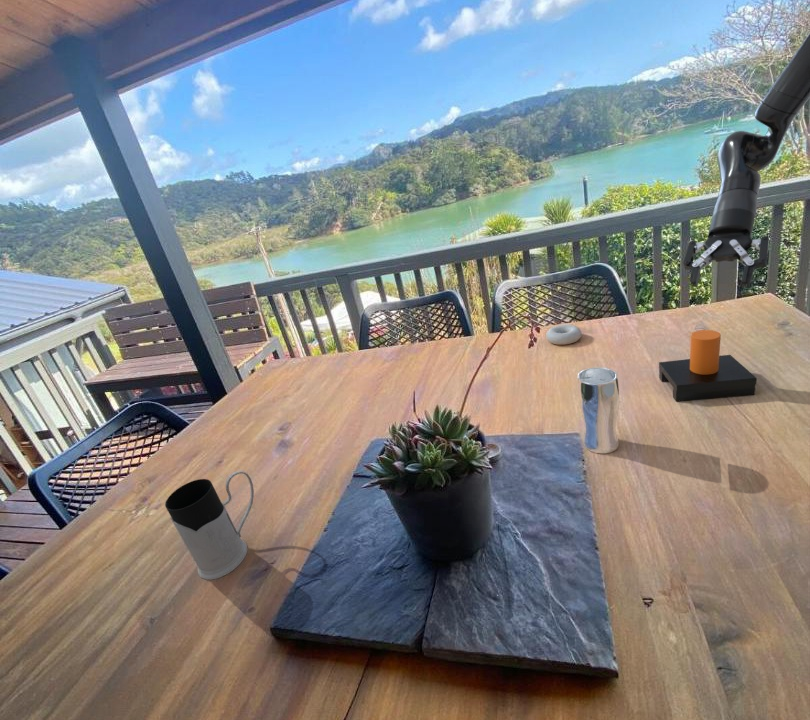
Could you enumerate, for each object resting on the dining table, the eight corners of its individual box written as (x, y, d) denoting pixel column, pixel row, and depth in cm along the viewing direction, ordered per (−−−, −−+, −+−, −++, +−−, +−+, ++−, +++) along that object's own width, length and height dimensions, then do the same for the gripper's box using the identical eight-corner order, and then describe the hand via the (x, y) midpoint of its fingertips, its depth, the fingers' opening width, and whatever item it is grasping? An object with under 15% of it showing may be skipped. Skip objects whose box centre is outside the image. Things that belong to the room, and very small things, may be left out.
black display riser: (728, 370, 96) (730, 354, 95) (755, 395, 86) (756, 377, 85) (658, 377, 100) (658, 362, 98) (676, 402, 90) (676, 385, 89)
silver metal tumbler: (585, 431, 88) (580, 365, 82) (623, 436, 84) (621, 367, 78) (578, 452, 83) (572, 383, 77) (618, 458, 79) (616, 386, 73)
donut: (545, 335, 135) (547, 348, 127) (544, 325, 134) (546, 337, 125) (579, 331, 132) (584, 344, 124) (579, 321, 131) (583, 333, 122)
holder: (191, 563, 79) (154, 500, 73) (260, 514, 87) (232, 453, 81) (208, 588, 72) (170, 521, 67) (281, 533, 81) (253, 468, 75)
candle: (712, 362, 93) (714, 328, 90) (722, 373, 89) (725, 337, 86) (685, 365, 95) (687, 331, 91) (695, 376, 90) (696, 340, 87)
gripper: (691, 211, 96) (676, 277, 93) (775, 202, 86) (761, 276, 83) (696, 229, 101) (682, 292, 99) (776, 223, 91) (762, 293, 89)
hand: (718, 285), depth 91 cm, fingers open, 8 cm apart
